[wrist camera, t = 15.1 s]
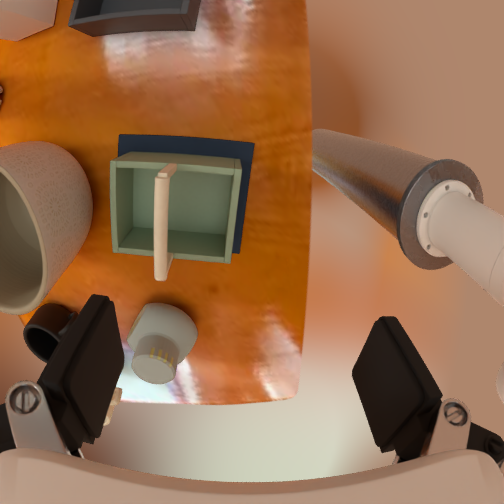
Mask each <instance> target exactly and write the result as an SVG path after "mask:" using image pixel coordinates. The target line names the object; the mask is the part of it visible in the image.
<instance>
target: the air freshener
mask: <svg viewBox="0 0 504 504" xmlns="http://www.w3.org/2000/svg"><path fill="white" fill-rule="evenodd" d="M197 336H198V331H197V328H196V326H195V324H194V322H193V321H192V319H191V318H190V317H189V316H188V315H187V314H186V313H185V312H183V311H182V310H180V309H179V308H177V307H175V306H172V305H169V304H165V303H149V304H146V305H145V306H144V307H143V309H142V310H141V312H140V313H139V315H138V317H137V318H136V320H135V322H134V324H133V326H132V328H131V330H130V332H129V334H128V336H127V342H128V344H129V346H130V347H131V349H132V350H133V351H134V352H135V353H134V357H133V360H132V369H133V371H134V372H135V374H136V375H137V376H138V377H139V378H141V379H142V380H144V381H146V382H149V383H152V384H164V383H167V382H170V381H171V380H173V379H174V377H175V374H176V368H177V364H179V363H181V362H182V361H183V360H184V359H185V357H186V356H187V355H188V354H189V352H190V351H191V349H192V347H193V346H194V344H195V342H196V339H197Z"/></svg>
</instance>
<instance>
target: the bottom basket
mask: <svg viewBox="0 0 504 504" xmlns="http://www.w3.org/2000/svg"><path fill="white" fill-rule="evenodd" d="M200 2H201V0H74V3H73V7H72V11H71V15H70V19H69V23H68V26H69V27H71V28H74V29H76V30H78V31H81V32H83V33H85V34H88V35H90V36H92V37H94V36H101V35H109V34H118V33H128V32H143V31H195V27H196V22H197V17H198V12H199V7H200Z"/></svg>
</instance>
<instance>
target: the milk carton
mask: <svg viewBox="0 0 504 504" xmlns="http://www.w3.org/2000/svg"><path fill="white" fill-rule="evenodd" d="M57 2H58V0H0V39H5V40H11V41H19V40H21V39H23V38H25V37H28V36H30V35H32V34H35V33H37V32H39V31H42V30H44V29H47V28H49V27H52V26H54V20H55V14H56V8H57Z"/></svg>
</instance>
